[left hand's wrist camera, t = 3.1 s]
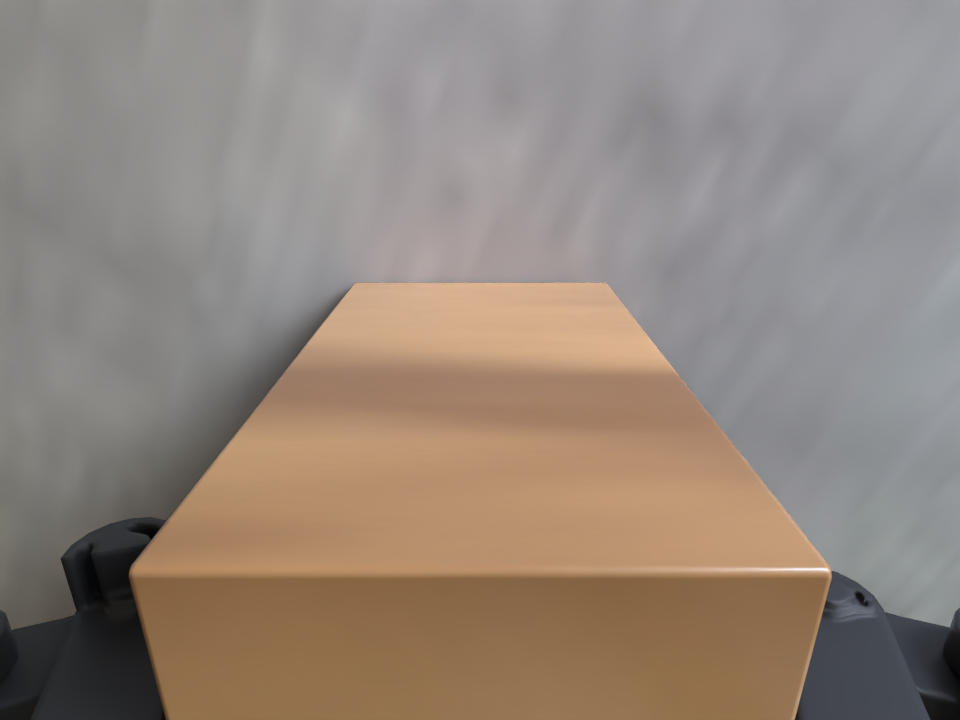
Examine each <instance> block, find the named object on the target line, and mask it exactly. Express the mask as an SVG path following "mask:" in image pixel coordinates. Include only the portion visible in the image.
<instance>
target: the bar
mask: <svg viewBox="0 0 960 720" xmlns="http://www.w3.org/2000/svg"><path fill="white" fill-rule="evenodd" d="M831 579H832V574H831V569H830V566H829V565H828V564H827V562H826V561H825V560H824V559H823V557H822V556H821V555H820V554H819V552H818V551H817V550H816V548H815V547H814V546H813V545H812V543H811V542H810V541H809V540H808V538H807V537H806V536H805V534H804V533H803V532H802V531H801V529H800V528H799V527H798V526H797V524H796V523H795V522H794V521H793V519H792V518H791V517H790V515H789V514H788V513H787V512H786V510H785V509H784V508H783V507H782V505H781V504H780V503H779V502H778V500H777V499H776V498H775V496H774V495H773V494H772V493H771V491H770V490H769V489H768V488H767V486H766V485H765V484H764V483H763V481H762V480H761V479H760V477H759V476H758V475H757V474H756V472H755V471H754V470H753V469H752V467H751V466H750V465H749V464H748V462H747V461H746V460H745V458H744V457H743V456H742V455H741V453H740V452H739V451H738V450H737V448H736V447H735V446H734V445H733V443H732V442H731V441H730V439H729V438H728V437H727V436H726V434H725V433H724V432H723V431H722V429H721V428H720V427H719V426H718V424H717V423H716V422H715V420H714V419H713V418H712V417H711V415H710V414H709V413H708V412H707V410H706V409H705V408H704V407H703V405H702V404H701V403H700V401H699V400H698V399H697V398H696V396H695V395H694V394H693V393H692V391H691V390H690V389H689V387H688V386H687V385H686V384H685V382H684V381H683V380H682V379H681V377H680V376H679V375H678V374H677V372H676V371H675V370H674V368H673V367H672V366H671V365H670V363H669V362H668V361H667V360H666V358H665V357H664V356H663V355H662V353H661V352H660V351H659V349H658V348H657V347H656V346H655V344H654V343H653V342H652V341H651V339H650V338H649V337H648V336H647V334H646V333H645V332H644V330H643V329H642V328H641V327H640V325H639V324H638V323H637V322H636V320H635V319H634V318H633V317H632V315H631V314H630V313H629V311H628V310H627V309H626V308H625V306H624V305H623V304H622V303H621V301H620V300H619V299H618V298H617V296H616V295H615V294H614V292H613V291H612V290H611V289H610V287H609V286H608V285H607V284H606V283H355V284H353V286H352V287H351V288H350V289H349V291H348V292H347V293H346V294H345V296H344V297H343V298H342V299H341V301H340V302H339V303H338V305H337V306H336V307H335V308H334V310H333V311H332V312H331V313H330V315H329V316H328V317H327V318H326V320H325V321H324V322H323V324H322V325H321V326H320V327H319V329H318V330H317V331H316V332H315V334H314V335H313V336H312V337H311V339H310V340H309V341H308V343H307V344H306V345H305V346H304V348H303V349H302V350H301V351H300V353H299V354H298V355H297V356H296V358H295V359H294V360H293V362H292V363H291V364H290V365H289V367H288V368H287V369H286V370H285V372H284V373H283V374H282V375H281V377H280V378H279V379H278V381H277V382H276V383H275V384H274V386H273V387H272V388H271V389H270V391H269V392H268V393H267V394H266V396H265V397H264V398H263V400H262V401H261V402H260V403H259V405H258V406H257V407H256V408H255V410H254V411H253V412H252V413H251V415H250V416H249V417H248V418H247V420H246V421H245V422H244V424H243V425H242V426H241V427H240V429H239V430H238V431H237V432H236V434H235V435H234V436H233V437H232V439H231V440H230V441H229V443H228V444H227V445H226V446H225V448H224V449H223V450H222V451H221V453H220V454H219V455H218V456H217V458H216V459H215V460H214V462H213V463H212V464H211V465H210V467H209V468H208V469H207V470H206V472H205V473H204V474H203V475H202V477H201V478H200V479H199V481H198V482H197V483H196V484H195V486H194V487H193V488H192V489H191V491H190V492H189V493H188V494H187V496H186V497H185V498H184V500H183V501H182V502H181V503H180V505H179V506H178V507H177V508H176V510H175V511H174V512H173V513H172V515H171V516H170V517H169V519H168V520H167V521H166V522H165V524H164V525H163V526H162V527H161V529H160V530H159V531H158V532H157V534H156V535H155V536H154V538H153V539H152V540H151V541H150V543H149V544H148V545H147V546H146V548H145V549H144V550H143V551H142V553H141V554H140V555H139V557H138V558H137V559H136V560H135V562H134V563H133V564H132V565H131V568H130V571H129V580H130V584H131V588H132V592H133V596H134V599H135V603H136V607H137V611H138V615H139V619H140V622H141V626H142V630H143V634H144V638H145V641H146V645H147V649H148V653H149V657H150V661H151V664H152V668H153V672H154V676H155V680H156V684H157V687H158V691H159V695H160V699H161V703H162V707H163V710H164V714H165V718H166V720H795V716H796V713H797V709H798V705H799V701H800V697H801V694H802V690H803V686H804V682H805V678H806V674H807V671H808V667H809V663H810V659H811V655H812V651H813V648H814V644H815V640H816V636H817V632H818V628H819V625H820V621H821V617H822V613H823V609H824V606H825V602H826V598H827V594H828V590H829V586H830V583H831Z"/></svg>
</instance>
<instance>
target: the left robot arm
mask: <svg viewBox="0 0 960 720" xmlns="http://www.w3.org/2000/svg"><path fill="white" fill-rule="evenodd" d="M165 522H166V520H161V519H156V518H152V517H149V518H131V519H127V520H123V521H119V522H115V523H111V524H109V525H106V526H104V527H102V528H99V529H97V530H95V531H93V532H90V533H88V534H87V535H86V536H84V537H83V538H81V539H80V540H78V541H77V542H75V543H74V544H73V545H71V546H70V548H69V549H68V550H67V551H66V553H65V554H64V555H63V556H62V557H61V561H62V565H63V568H64V571H65V574H66V578H67V581H68V584H69V588H70V591H71V594H72V597H73V601H74V604H75V607H76V610H77V611H76V613H75V615H73V616H70V617H66V618H63V619H59V620H54V621H50V622H45V623H41V624H36V625H32V626H28V627H23V628H19V629H14V630H11V627H10V625H9V622H8V619H7V616H6V614H5V613H4V612H3V611H2V610H0V720H166V718H165V714H164V710H163V707H162V703H161V699H160V695H159V691H158V687H157V684H156V680H155V676H154V672H153V668H152V664H151V661H150V657H149V653H148V649H147V645H146V641H145V638H144V634H143V630H142V626H141V622H140V619H139V615H138V611H137V607H136V603H135V599H134V596H133V592H132V588H131V584H130V580H129V571H130V568H131V565H132V564H133V563H134V562H135V560H136V559H137V558H138V557H139V555H140V554H141V553H142V551H143V550H144V549H145V548H146V546H147V545H148V544H149V543H150V541H151V540H152V539H153V538H154V536H155V535H156V534H157V532H158V531H159V530H160V529H161V527H162V526H163V525H164V524H165ZM831 574H832V579H831V583H830V586H829V590H828V594H827V598H826V602H825V606H824V609H823V613H822V617H821V621H820V625H819V628H818V632H817V636H816V640H815V644H814V648H813V651H812V655H811V659H810V663H809V667H808V671H807V674H806V678H805V682H804V686H803V690H802V694H801V697H800V701H799V705H798V709H797V713H796V716H795V720H960V608H959V609H958V610H957V611H956V612H955V615H954V618H953V621H952V623H951V626H950V628H949V627H945V626H940V625H936V624H931V623H927V622H922V621H918V620H913V619H909V618H904V617H900V616H896V615H893V614H889V613H886V612H884V610H883V608H882V607H881V605H880V604H879V603H878V601H877V600H876V598H875V597H874V595H872V594H871V593H870V592H869V591H867V590H866V589H865V588H863V587H862V586H861V585H860V584H858V583H857V582H855V581H853V580H851V579H849V578H847V577H845V576H843V575H841V574H839V573H837V572H834V571H831Z"/></svg>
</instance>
